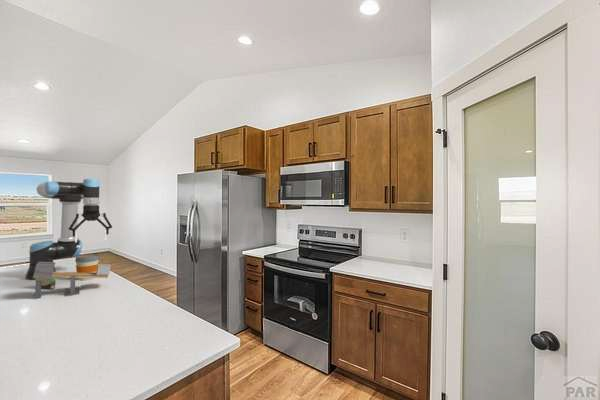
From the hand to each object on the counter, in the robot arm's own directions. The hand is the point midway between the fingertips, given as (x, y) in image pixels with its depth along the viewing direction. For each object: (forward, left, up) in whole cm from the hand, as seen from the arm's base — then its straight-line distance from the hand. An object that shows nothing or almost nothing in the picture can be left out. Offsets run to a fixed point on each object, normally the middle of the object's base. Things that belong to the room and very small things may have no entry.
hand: (91, 241), depth 158 cm
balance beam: (+1, -8, -19) cm, 21 cm away
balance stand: (+1, -14, -28) cm, 31 cm away
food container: (-17, -19, -28) cm, 38 cm away
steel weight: (+1, +5, -21) cm, 21 cm away
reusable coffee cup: (-27, -1, -28) cm, 39 cm away
